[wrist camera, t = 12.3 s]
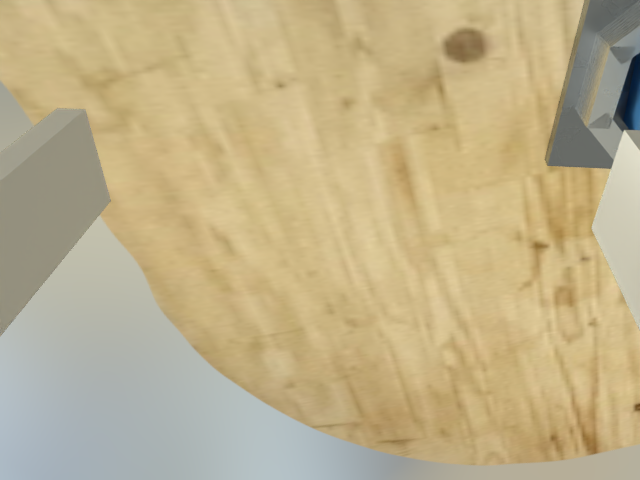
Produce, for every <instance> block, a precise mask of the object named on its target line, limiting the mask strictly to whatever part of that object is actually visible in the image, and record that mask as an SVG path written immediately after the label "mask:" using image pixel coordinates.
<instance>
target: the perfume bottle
mask: <svg viewBox="0 0 640 480" xmlns="http://www.w3.org/2000/svg"><path fill="white" fill-rule="evenodd" d="M623 122H624V123H625V124H626V126H627V127H628V128H629V130H640V53H638V54H637V55H636V60H635V65H634V70H633V75H632V80H631V85H630V90H629V95H628V101H627V106H626V111H625V116H624V121H623Z"/></svg>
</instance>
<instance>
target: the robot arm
mask: <svg viewBox="0 0 640 480" xmlns="http://www.w3.org/2000/svg"><path fill="white" fill-rule="evenodd" d="M110 201H111V200H110V196H109V192H108V189H107V185H106V182H105V178H104V175H103V171H102V167H101V164H100V160H99V157H98V153H97V150H96V146H95V142H94V139H93V135H92V132H91V128H90V125H89V121H88V117H87V114H86V110H85V109H63V108H57V109H56V110H54V111H53V112H52V113H51V114H49V115H48V116H47V117H45V118H44V119H43V120H41V121H40V122H39V123H38V124H36V125H35V126H34V127H32V128H31V129H30V130H29V131H27V132H26V133H25V134H24V135H22V136H21V137H19V138H18V139H17V140H16V141H14V142H13V143H12V144H11V145H9V146H8V147H7V148H5V149H4V150H3V151H1V152H0V336H1V335H2V334H3V332H4V331H5V330H6V329H7V327H8V326H9V325H10V324H11V323H12V321H13V320H14V319H15V317H16V316H17V315H18V314H19V313H20V312H21V310H22V309H23V308H24V307H25V305H26V304H27V303H28V302H29V300H30V299H31V298H32V297H33V295H34V294H35V293H36V292H37V291H38V289H39V288H40V287H41V286H42V285H43V283H44V282H45V281H46V280H47V278H48V277H49V276H50V275H51V274H52V272H53V271H54V270H55V269H56V267H57V266H58V265H59V264H60V263H61V261H62V260H63V259H64V258H65V256H66V255H67V254H68V253H69V251H70V250H71V249H72V248H73V247H74V245H75V244H76V243H77V242H78V240H79V239H80V238H81V237H82V235H83V234H84V233H85V232H86V231H87V229H88V228H89V227H90V226H91V225H92V223H93V222H94V221H95V220H96V218H97V217H98V216H99V215H100V213H101V212H102V211H103V210H104V209H105V207H106V206H107V205H108V204H109V202H110ZM592 230H593V233H594V235H595V237H596V239H597V241H598V243H599V245H600V247H601V250H602V252H603V254H604V256H605V258H606V260H607V262H608V264H609V267H610V269H611V271H612V273H613V275H614V277H615V279H616V281H617V284H618V286H619V288H620V290H621V292H622V294H623V296H624V298H625V300H626V303H627V305H628V307H629V309H630V311H631V313H632V315H633V317H634V320H635V322H636V324H637V326H638V328H639V330H640V130H624V132H623V135H622V138H621V141H620V144H619V147H618V150H617V153H616V156H615V159H614V162H613V165H612V168H611V171H610V174H609V177H608V180H607V183H606V186H605V189H604V192H603V195H602V198H601V201H600V204H599V207H598V210H597V213H596V216H595V219H594V222H593V225H592Z"/></svg>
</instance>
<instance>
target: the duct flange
mask: <svg viewBox="0 0 640 480" xmlns="http://www.w3.org/2000/svg"><path fill="white" fill-rule="evenodd" d="M638 53H640V0H585V1H584V5H583V9H582V13H581V17H580V21H579V25H578V29H577V33H576V37H575V41H574V45H573V49H572V53H571V57H570V61H569V65H568V69H567V73H566V77H565V81H564V85H563V89H562V93H561V97H560V101H559V105H558V109H557V113H556V117H555V121H554V125H553V129H552V133H551V137H550V141H549V145H548V149H547V153H546V157H545V161H546V163H547V166H565V167H587V168H608V169H611V168H612V165H613V162H614V159H615V156H616V153H617V150H618V147H619V144H620V141H621V138H622V135H623V132H624V130H629V128H628V127H627V126H626V124H625V123H624V122H623V121H624V116H625V111H626V106H627V101H628V95H629V90H630V85H631V80H632V75H633V70H634V65H635V60H636V55H637V54H638Z"/></svg>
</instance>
